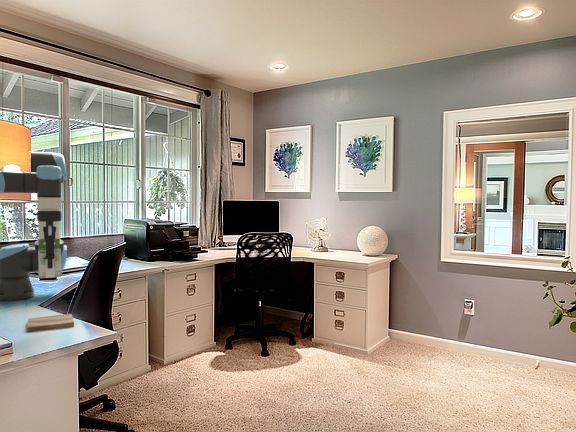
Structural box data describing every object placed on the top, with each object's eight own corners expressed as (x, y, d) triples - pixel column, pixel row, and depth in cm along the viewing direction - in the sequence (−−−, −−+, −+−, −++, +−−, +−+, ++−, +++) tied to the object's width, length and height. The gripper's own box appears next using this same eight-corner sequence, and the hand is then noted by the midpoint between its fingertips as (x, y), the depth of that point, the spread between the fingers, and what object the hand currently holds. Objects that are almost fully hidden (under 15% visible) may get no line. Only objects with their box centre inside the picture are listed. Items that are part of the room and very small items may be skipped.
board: (28, 322, 155) (27, 318, 155) (71, 317, 162) (71, 313, 162) (27, 331, 144) (27, 327, 144) (73, 326, 151) (73, 322, 151)
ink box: (38, 278, 149) (38, 240, 148) (38, 277, 152) (38, 239, 152) (61, 277, 152) (61, 239, 152) (60, 275, 156) (60, 238, 155)
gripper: (37, 209, 157) (37, 273, 158) (36, 210, 142) (37, 281, 143) (60, 209, 161) (60, 272, 162) (62, 210, 146) (63, 279, 147)
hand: (50, 276), depth 152 cm, fingers closed on ink box, 4 cm apart
